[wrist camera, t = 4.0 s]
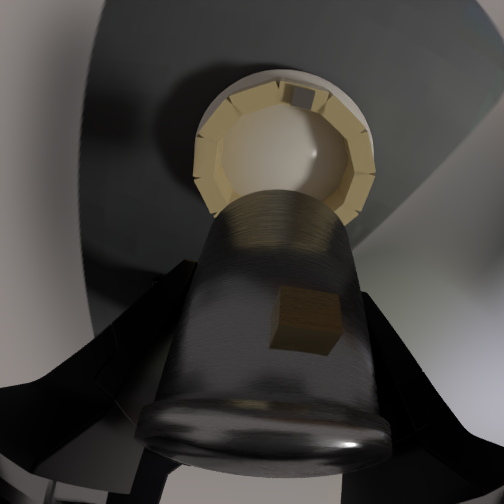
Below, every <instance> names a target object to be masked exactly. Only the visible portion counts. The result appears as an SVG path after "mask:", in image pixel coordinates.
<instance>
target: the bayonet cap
mask: <svg viewBox="0 0 504 504" xmlns="http://www.w3.org/2000/svg"><path fill="white" fill-rule="evenodd" d="M134 439H135V440H136V441H137V442H138V443H139V444H140V445H142V446H143V447H145V448H147V449H149V450H150V451H152V452H155V453H157V454H159V455H161V456H164V457H166V458H169V459H172V460H175V461H178V462H181V463H184V464H187V465H191V466H195V467H199V468H203V469H207V470H212V471H217V472H222V473H228V474H235V475H243V476H253V477H266V478H305V477H320V476H329V475H336V474H342V473H348V472H353V471H357V470H361V469H365V468H368V467H371V466H374V465H377V464H379V463H382V462H384V461H386V460H387V459H389V458H390V457H391V456H392V440H391V428H390V424H389V422H388V421H387V420H385V419H384V418H382V417H380V413H379V403H378V394H377V385H376V377H375V370H374V363H373V356H372V349H371V343H370V337H369V331H368V326H367V320H366V315H365V309H364V304H363V299H362V294H361V290H360V285H359V280H358V276H357V271H356V267H355V263H354V258H353V254H352V250H351V246H350V242H349V238H348V235H347V231H346V229H345V227H344V225H343V223H342V221H341V220H340V218H339V217H338V215H337V214H336V213H335V212H334V211H333V210H332V209H331V208H329V207H328V206H327V205H326V204H324V203H323V202H321V201H319V200H318V199H316V198H314V197H311V196H309V195H307V194H304V193H300V192H297V191H291V190H281V189H272V190H262V191H258V192H253V193H250V194H247V195H245V196H242V197H240V198H238V199H236V200H234V201H233V202H232V203H230V204H229V205H227V206H226V207H225V208H224V209H223V210H222V211H221V212H220V213H219V214H218V216H217V217H216V218H215V220H214V222H213V223H212V225H211V228H210V231H209V233H208V236H207V239H206V242H205V244H204V247H203V250H202V253H201V256H200V258H199V261H198V264H197V267H196V270H195V273H194V276H193V278H192V281H191V284H190V287H189V290H188V293H187V296H186V299H185V302H184V305H183V308H182V311H181V314H180V317H179V320H178V324H177V327H176V330H175V333H174V336H173V339H172V342H171V346H170V349H169V352H168V355H167V359H166V362H165V365H164V369H163V372H162V375H161V379H160V382H159V386H158V389H157V393H156V396H155V400H154V402H152V403H149V404H147V405H145V406H144V407H143V408H142V409H141V412H140V416H139V419H138V423H137V427H136V430H135V434H134Z"/></svg>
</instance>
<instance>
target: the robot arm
mask: <svg viewBox="0 0 504 504" xmlns="http://www.w3.org/2000/svg"><path fill="white" fill-rule="evenodd" d="M197 264H198V263H197V262H196V261H193V260H188V259H185V260H183V261H182V262H181V263H179V264H178V265H177V266H176V267H175V268H174V269H172V270H171V271H170V272H169V273H168V274H167V275H165V276H164V277H163V278H162V279H159V278H154V279H153V280H152V283H151V285H152V287H151V288H150V289H149V290H148V291H147V292H146V293H145V294H143V295H142V296H141V297H140V298H139V299H138V300H137V301H136V302H134V303H133V304H132V305H131V306H130V307H129V308H128V309H127V310H125V311H124V312H123V313H122V314H121V315H120V316H119V317H118V318H117V319H115V320H114V321H113V322H112V323H111V325H109V326H108V327H106V328H105V329H104V330H103V331H102V332H101V333H100V334H99V335H97V336H96V337H95V338H94V339H93V340H92V341H91V342H89V343H88V344H87V345H85V346H84V347H83V348H82V349H80V350H79V351H78V352H77V353H75V354H74V355H72V356H71V357H70V358H68V359H67V360H66V361H64V362H63V363H62V364H60V365H59V366H57V367H56V368H55V369H53V370H52V371H51V372H49V373H48V374H47V375H45V376H43V377H42V378H40V379H38V380H36V381H33V382H30V383H26V384H20V385H15V386H9V387H3V388H0V504H159V502H160V499H161V495H162V492H163V489H164V486H165V482H166V480H167V477H168V474H170V473H171V472H172V471H174V470H175V469H177V468H178V467H179V466H181V465H182V464H183V465H187V464H184V463H181V462H178V461H175V460H172V459H169V458H166V457H164V456H161V455H159V454H157V453H155V452H152V451H150V450H149V449H147V448H145V447H143V446H142V445H140V444H139V443H138V442H137V441H136V440H135V439H134V434H135V430H136V427H137V423H138V419H139V416H140V412H141V409H142V408H143V407H144V406H145V405H147V404H149V403H152V402H154V400H155V396H156V393H157V389H158V386H159V382H160V379H161V375H162V372H163V369H164V365H165V362H166V359H167V355H168V352H169V349H170V346H171V342H172V339H173V336H174V333H175V330H176V327H177V324H178V320H179V317H180V314H181V311H182V308H183V305H184V302H185V299H186V296H187V293H188V290H189V287H190V284H191V281H192V278H193V276H194V273H195V270H196V267H197ZM361 294H362V299H363V304H364V309H365V315H366V320H367V326H368V331H369V337H370V343H371V349H372V356H373V363H374V370H375V377H376V385H377V394H378V403H379V413H380V417H382V418H384V419H385V420H387V421H388V422H389V424H390V428H391V440H392V456H391V457H390V458H389V459H387V460H386V461H384V462H382V463H379V464H377V465H374V466H371V467H368V468H365V469H361V470H357V471H353V472H348V473H343V474H342V493H341V504H504V447H503V446H500V445H497V444H495V443H492V442H489V441H486V440H484V439H481V438H479V437H477V436H474V435H473V434H471V433H469V432H468V431H467V430H466V429H465V428H464V427H463V426H462V424H461V423H460V422H459V420H458V419H457V418H456V416H455V415H454V414H453V412H452V411H451V410H450V408H449V407H448V406H447V404H446V403H445V402H444V401H443V399H442V398H441V396H440V395H439V394H438V392H437V391H436V389H435V388H434V387H433V385H432V384H431V382H430V381H429V379H428V378H427V376H426V375H425V373H424V372H422V369H421V367H420V366H419V364H418V363H417V361H416V360H415V358H414V357H413V356H412V354H411V353H410V351H409V350H408V348H407V347H406V345H405V344H404V342H403V341H402V340H401V338H400V337H399V335H398V334H397V333H396V331H395V330H394V328H393V327H392V326H391V324H390V323H389V321H388V320H387V319H386V317H385V316H384V315H383V313H382V312H381V311H380V309H379V308H378V307H377V305H376V304H375V303H374V301H373V300H372V299H371V297H370V296H369V295H368V293H366V292H362V291H361ZM187 466H191V465H187Z"/></svg>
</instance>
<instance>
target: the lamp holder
mask: <svg viewBox="0 0 504 504" xmlns="http://www.w3.org/2000/svg"><path fill="white" fill-rule="evenodd" d="M375 172H376V170H375V165H374V149H373V141H372V136H371V133H370V129H369V127H368V124H367V122H366V120H365V118H364V116H363V114H362V113H361V111H360V110H359V108H358V107H357V105H356V104H355V103H354V102H353V101H352V100H351V98H350V97H348V96H347V95H346V94H345V93H344V92H343V91H342V90H340V89H339V88H338V87H337V86H335V85H334V84H332V83H330V82H329V81H327V80H326V79H323V78H321V77H319V76H317V75H314V74H311V73H308V72H305V71H300V70H294V69H272V70H265V71H261V72H257V73H253V74H251V75H248V76H246V77H244V78H242V79H240V80H238V81H237V82H235V83H233V84H232V85H230V86H229V87H228V88H226V89H225V90H224V91H223V92H221V93H220V94H219V95H218V96H217V97H216V98H215V99H214V101H213V102H212V103H211V104H210V106H209V107H208V108H207V110H206V111H205V113H204V115H203V117H202V119H201V121H200V124H199V127H198V130H197V133H196V139H195V156H194V168H193V176H194V177H195V179H194V182H195V184H196V186H197V188H198V190H199V191H200V193H201V195H202V197H203V199H204V201H205V203H206V205H207V207H208V209H209V211H210V213H211V214H212V213H215V214H214V216H213V217H215V218H216V217H217V216H218V214H219V213H220V212H221V211H222V210H223V209H224V208H225V207H226V206H227V205H229V204H230V203H232V202H233V201H234V200H236V199H238V198H240V197H242V196H245V195H247V194H250V193H253V192H258V191H262V190H272V189H281V190H291V191H297V192H300V193H304V194H307V195H309V196H311V197H314V198H316V199H318V200H319V201H321V202H323V203H324V204H326V205H327V206H328V207H329V208H331V209H332V210H333V211H334V212H335V213H336V214H337V215H338V217H339V218H340V220H341V221H342V223H343V225H344V226H345V225H346V224H347V223H348V222H350V221H351V220H352V219H354V218H355V217H356V216H357V215H359V214H358V211H361V210H362V208H363V206H364V203H365V201H366V198H367V196H368V193H369V191H370V189H371V186H372V184H373V181H374V178H375V175H374V173H375Z"/></svg>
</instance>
